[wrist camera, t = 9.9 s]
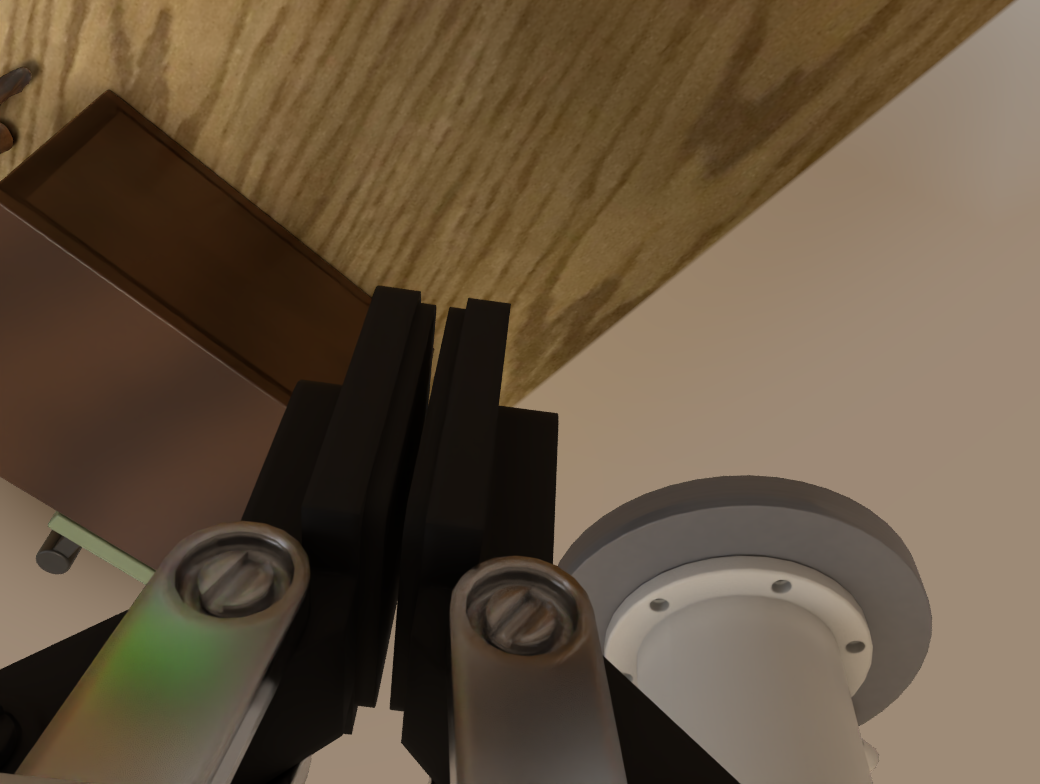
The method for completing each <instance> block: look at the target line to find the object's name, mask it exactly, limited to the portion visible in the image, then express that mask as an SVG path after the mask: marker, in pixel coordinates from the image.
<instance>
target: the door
mask: <svg viewBox="0 0 1040 784" xmlns="http://www.w3.org/2000/svg"><path fill="white" fill-rule="evenodd" d="M48 527H49V528H51V529H52V531H51V533H50V534H49V536H48V537H47V539H46V540H45V542H44V544H43V545H42V547H41V548H40V550H39V552H38V553H37V555H36V562H37V563H38V565H39V566H40V567H41V568H42V569H43V570H45V571H47V572H49V573H52V574H63V573H65V572H67V571H68V570H69V569H70V567H71V565H72V564H73V562H74V560H75V559H76V557H77V555H78V553H79V552H80V550H81V548H82V547H83V548H84V549H86V550H88V551H89V552H91V553H93V554H95V555H96V556H98V557H100V558H101V559H103V560H105V561H106V562H108V563H110V564H111V565H113V566H115V567H117V568H118V569H120V570H122V571H123V572H125V573H127V574H128V575H130V576H132V577H133V578H135V579H137V580H138V581H140V582H142V583H144V584H145V585H146V584H147V583H148V581H149V580H150V578H151V577H152V576H153V574H154V573H155V571H156V570H155V569H153V568H151V567H150V566H148V565H146V564H145V563H143V562H141V561H140V560H138V559H136V558H135V557H133V556H131V555H130V554H128V553H126V552H125V551H123V550H121V549H120V548H118V547H116V546H115V545H113V544H111V543H110V542H108V541H106V540H105V539H103V538H101V537H100V536H98V535H96V534H95V533H93V532H91V531H90V530H88V529H86V528H85V527H83V526H81V525H80V524H78V523H76V522H75V521H73V520H71V519H70V518H68V517H66V516H65V515H63V514H61V513H60V512H58V511H56V513H55V514H54V515H53V517H52V518H51V520H50V522H49V523H48Z"/></svg>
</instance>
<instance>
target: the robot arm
mask: <svg viewBox="0 0 1040 784" xmlns="http://www.w3.org/2000/svg"><path fill="white" fill-rule="evenodd" d="M510 307H511V304H510V303H502V302H495V301H488V300H480V299H473V298H468V301H467V306H466V309H461V308H454V307H450V308H449V311H448V316H447V321H446V325H445V330H444V335H443V339H442V344H441V349H440V353H439V358H438V363H437V367H436V372H435V376H434V381H433V386H432V390H431V395H430V400H429V390H430V379H431V367H432V355H433V344H434V332H435V321H436V305H431V304H424V303H421V291H414V290H407V289H399V288H392V287H385V286H376V289H375V291H374V294H373V297H372V300H371V303H370V306H369V309H368V312H367V314H366V317H365V320H364V323H363V326H362V329H361V332H360V335H359V338H358V341H357V344H356V347H355V350H354V353H353V356H352V359H351V362H350V364H349V367H348V370H347V373H346V376H345V379H344V382H343V385H340V384H332V383H325V382H317V381H310V380H302V379H301V380H300V381H298V382H297V384H296V386H295V388H294V390H293V392H292V395H291V397H290V400H289V402H288V405H287V407H286V410H285V412H284V415H283V417H282V420H281V422H280V424H279V427H278V429H277V432H276V434H275V437H274V439H273V442H272V444H271V447H270V449H269V452H268V454H267V457H266V459H265V462H264V464H263V466H262V469H261V471H260V474H259V476H258V479H257V481H256V484H255V486H254V489H253V491H252V494H251V496H250V499H249V501H248V504H247V506H246V508H245V511H244V513H243V516H242V518H241V521H236V522H225V523H219V524H216V525H213V526H210V527H207V528H203V529H200V530H198V531H196V532H195V533H193V534H191V535H190V536H188V537H186V538H185V539H183V540H181V541H180V542H179V543H178V544H177V545H176V546H175V547H174V548H173V549H172V550H171V551H170V552H169V553H168V555H167V556H166V557H165V558H164V560H163V561H162V563H161V564H160V566H159V567H158V568H157V570H156V571H155V573H154V574H153V576H152V577H151V578H150V580H149V581H148V583H147V584H146V586H145V587H144V589H143V590H142V592H141V593H140V594H139V596H138V597H137V599H136V600H135V602H134V603H133V604H132V606H131V607H130V609H128V610H126V611H124V612H122V613H120V614H118V615H115V616H113V617H111V618H109V619H107V620H105V621H103V622H100V623H98V624H96V625H94V626H92V627H90V628H88V629H86V630H83V631H81V632H79V633H77V634H75V635H73V636H71V637H69V638H66V639H64V640H62V641H60V642H58V643H56V644H54V645H51V646H49V647H47V648H45V649H43V650H41V651H39V652H37V653H34V654H33V655H30V656H28V657H26V658H24V659H21V660H19V661H17V662H15V663H13V664H11V665H9V666H7V667H5V668H3V669H1V670H0V784H305V781H306V779H307V776H308V772H309V767H310V763H311V755H312V754H314V753H315V752H317V751H318V750H320V749H322V748H323V747H325V746H326V745H328V744H330V743H331V742H333V741H334V740H336V739H338V738H339V737H341V736H342V735H343V734H352V731H353V725H354V721H355V717H356V712H357V708H358V706H364V707H373V708H375V706H376V702H377V697H378V693H379V688H380V683H381V678H382V674H383V669H384V664H385V659H386V654H387V649H388V644H389V639H390V634H391V629H392V624H393V620H394V614H395V610H396V605H397V616H396V631H395V643H394V657H393V671H392V684H391V698H390V710H397V711H404V717H403V728H402V740H401V743H402V744H403V745H404V747H405V748H406V749H407V750H408V751H409V753H410V754H411V755H412V756H413V757H414V758H415V760H416V761H417V762H418V763H419V764H420V766H421V767H422V768H423V769H424V770H425V772H426V773H427V774H428V775H429V783H428V784H873V782H872V778H871V775H870V772H871V771H872V770H873V769H875V768H876V766H877V764H878V762H879V754H878V752H877V751H876V749H875V748H874V747H872V746H871V745H870V744H869V743H867V742H866V741H865V740H863V739H862V738H861V735H860V731H859V727H858V723H857V719H856V715H855V711H854V707H853V703H852V699H851V697H852V696H853V695H854V694H855V693H856V692H857V690H858V689H859V687H860V686H861V685H862V683H863V682H864V680H865V678H866V676H867V673H868V671H869V668H870V666H871V662H872V651H873V645H872V640H871V636H870V631H869V628H868V624H867V622H866V619H865V616H864V613H863V611H862V609H861V607H860V606H859V604H858V603H857V602H856V600H855V599H854V598H853V596H852V595H851V594H850V593H849V592H848V591H847V590H846V589H844V588H843V587H842V586H841V585H840V584H839V583H837V582H836V581H835V580H833V579H831V578H830V577H828V576H826V575H824V574H822V573H820V572H819V571H817V570H815V569H812V568H809V567H806V566H803V565H800V564H798V563H795V562H792V561H786V560H781V559H775V558H770V557H760V556H729V557H718V558H710V559H705V560H701V561H697V562H692V563H688V564H685V565H682V566H679V567H677V568H674V569H672V570H669V571H666V572H664V573H662V574H660V575H658V576H656V577H655V578H653V579H651V580H649V581H648V582H646V583H644V584H643V585H641V586H640V587H639V588H638V589H636V590H635V591H634V592H633V593H632V594H630V595H629V596H628V597H627V598H626V599H625V600H624V601H623V603H622V604H621V605H620V606H619V608H618V609H617V610H616V611H615V613H614V614H613V616H612V619H611V621H610V623H609V625H608V627H607V630H606V636H605V643H604V656H603V655H602V650H601V645H600V640H599V634H598V629H597V624H596V619H595V614H594V609H593V607H592V604H591V602H590V599H589V597H588V594H587V592H586V591H585V590H584V589H583V587H582V586H581V585H580V584H579V583H578V581H577V580H576V579H575V578H574V577H573V576H571V575H570V574H568V573H567V572H565V571H564V570H562V569H561V568H560V567H558V566H556V565H553V547H554V522H555V497H556V471H557V446H558V414H557V413H551V412H542V411H536V410H527V409H520V408H513V407H506V406H499V398H500V390H501V382H502V373H503V365H504V357H505V349H506V340H507V332H508V324H509V315H510ZM428 402H429V404H428ZM397 600H398V603H397Z"/></svg>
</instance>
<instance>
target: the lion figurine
mask: <svg viewBox="0 0 1040 784" xmlns="http://www.w3.org/2000/svg"><path fill="white" fill-rule="evenodd" d="M31 76H32V75H31V72H30V71H29V69H27V68H25V67H22V68H18V69H16V70H13V71H11V72H9V73H8V74H6V75H4V76H2V77H0V105H1V104H2V103H3V102H4V101H5V100H7V99H8V98H9V97H11V96H12V95H14V94H17V93H19V92H22V90H23V88H24V87H25V86H26V85H27V84H29V82H30V80H31ZM12 146H13V138H12V136H11V134H10V132H9V130H8V129H7V127H6V126H5V125H3V124H2V123H0V154H1V153H3V152H5V151H8V150H9V149H11V148H12Z"/></svg>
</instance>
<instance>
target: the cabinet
mask: <svg viewBox="0 0 1040 784" xmlns="http://www.w3.org/2000/svg"><path fill="white" fill-rule="evenodd" d="M371 300H372V298H370V297H369V296H368V295H367V294H365V293H364V292H363V291H362V290H360V289H359V288H358V287H357V286H355V285H354V284H353V283H352V282H350V281H349V280H348V279H347V278H345V277H344V276H343V275H342V274H340V273H339V272H338V271H336V270H335V269H334V268H333V267H331V266H330V265H329V264H328V263H326V262H325V261H324V260H323V259H321V258H320V257H319V256H318V255H316V254H315V253H314V252H313V251H311V250H310V249H309V248H308V247H306V246H305V245H304V244H303V243H301V242H300V241H299V240H297V239H296V238H295V237H294V236H292V235H291V234H290V233H289V232H287V231H286V230H285V229H284V228H282V227H281V226H280V225H279V224H277V223H276V222H275V221H274V220H272V219H271V218H270V217H269V216H267V215H266V214H265V213H264V212H262V211H261V210H260V209H258V208H257V207H256V206H255V205H253V204H252V203H251V202H250V201H248V200H247V199H246V198H245V197H243V196H242V195H241V194H240V193H238V192H237V191H236V190H235V189H233V188H232V187H231V186H230V185H228V184H227V183H226V182H225V181H223V180H222V179H221V178H219V177H218V176H217V175H216V174H214V173H213V172H212V171H211V170H209V169H208V168H207V167H206V166H204V165H203V164H202V163H201V162H199V161H198V160H197V159H196V158H194V157H193V156H192V155H191V154H189V153H188V152H187V151H186V150H184V149H183V148H182V147H180V146H179V145H178V144H177V143H175V142H174V141H173V140H172V139H170V138H169V137H168V136H167V135H165V134H164V133H163V132H162V131H160V130H159V129H158V128H157V127H155V126H154V125H153V124H152V123H150V122H149V121H148V120H147V119H145V118H144V117H143V116H141V115H140V114H139V113H138V112H136V111H135V110H134V109H133V108H131V107H130V106H129V105H128V104H126V103H125V102H124V101H123V100H121V99H120V98H119V97H118V96H116V95H115V94H114V93H113V92H111V91H110V90H107V91H106V92H105V93H103V94H102V95H101V96H99V97H98V98H97V99H96V100H95V101H94V102H92V103H91V104H90V105H89V106H88V107H87V108H85V109H84V110H83V111H82V112H81V113H80V114H78V115H77V116H76V117H75V118H74V119H73V120H71V121H70V122H69V123H68V124H67V125H66V126H64V127H63V128H62V129H61V130H60V131H59V132H57V133H56V134H55V135H54V136H53V137H52V138H50V139H49V140H48V141H47V142H46V143H45V144H43V145H42V146H41V147H40V148H39V149H38V150H36V151H35V152H34V153H33V154H32V155H31V156H29V157H28V158H27V159H26V160H25V161H24V162H22V163H21V164H20V165H19V166H18V167H17V168H15V169H14V170H13V171H12V172H11V173H10V174H8V175H7V176H6V177H5V178H4V179H3V180H1V181H0V477H2V478H3V479H5V480H7V481H8V482H10V483H11V484H13V485H15V486H16V487H18V488H20V489H22V490H23V491H25V492H27V493H28V494H30V495H31V496H33V497H35V498H37V499H38V500H40V501H41V502H43V503H45V504H46V505H48V506H50V507H51V508H53V509H55V510H56V511H58V512H60V513H61V514H63V515H65V516H66V517H68V518H70V519H71V520H73V521H75V522H76V523H78V524H80V525H81V526H83V527H85V528H86V529H88V530H90V531H91V532H93V533H95V534H96V535H98V536H100V537H101V538H103V539H105V540H106V541H108V542H110V543H111V544H113V545H115V546H116V547H118V548H120V549H121V550H123V551H125V552H126V553H128V554H130V555H131V556H133V557H135V558H136V559H138V560H140V561H141V562H143V563H145V564H146V565H148V566H150V567H151V568H153V569H155V570H157V568H158V567H159V566H160V564H161V563H162V561H163V560H164V558H165V557H166V556H167V555H168V553H169V552H170V551H171V550H172V549H173V548H174V547H175V546H176V545H177V544H178V543H179V542H180V541H181V540H183V539H185V538H186V537H188V536H190V535H191V534H193V533H195V532H196V531H198V530H200V529H203V528H207V527H210V526H213V525H216V524H219V523H225V522H236V521H241V518H242V516H243V513H244V511H245V508H246V506H247V504H248V501H249V499H250V496H251V494H252V491H253V489H254V486H255V484H256V481H257V479H258V476H259V474H260V471H261V469H262V466H263V464H264V462H265V459H266V457H267V454H268V452H269V449H270V447H271V444H272V442H273V439H274V437H275V434H276V432H277V429H278V427H279V424H280V422H281V420H282V417H283V415H284V412H285V410H286V407H287V405H288V402H289V400H290V397H291V395H292V392H293V390H294V388H295V386H296V384H297V382H298V381H300V380H301V379H302V380H310V381H317V382H325V383H332V384H340V385H343V382H344V379H345V376H346V373H347V370H348V367H349V364H350V362H351V359H352V356H353V353H354V350H355V347H356V344H357V341H358V338H359V335H360V332H361V329H362V326H363V323H364V320H365V317H366V314H367V312H368V309H369V306H370V303H371ZM433 353H434V348H433ZM432 358H433V355H432Z"/></svg>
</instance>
